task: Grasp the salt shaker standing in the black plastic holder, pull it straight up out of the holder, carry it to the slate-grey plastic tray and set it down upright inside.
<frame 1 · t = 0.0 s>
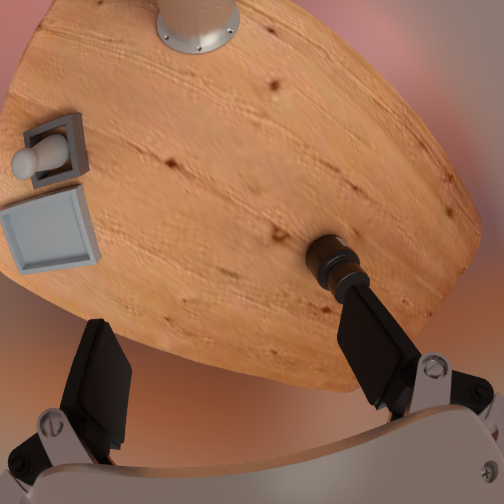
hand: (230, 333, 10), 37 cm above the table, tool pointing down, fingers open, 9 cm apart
tray: (49, 230, 42), on the table
ink bottle: (325, 253, 55), on the table
holder: (60, 149, 36), on the table
salt shaker: (61, 148, 36), resting in holder
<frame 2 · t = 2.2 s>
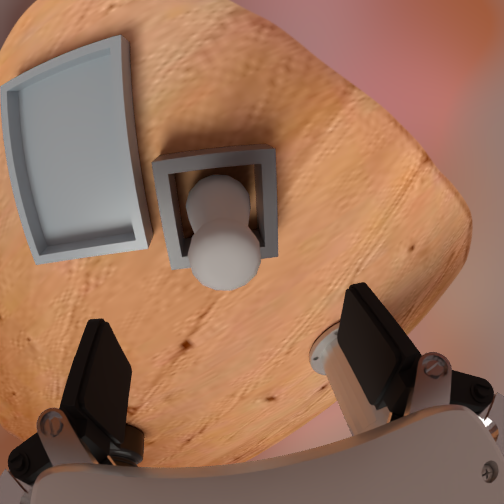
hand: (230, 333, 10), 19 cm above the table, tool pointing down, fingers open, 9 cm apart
tray: (73, 154, 22), on the table
ink bottle: (124, 430, 46), on the table
holder: (217, 198, 27), on the table
salt shaker: (217, 197, 27), resting in holder
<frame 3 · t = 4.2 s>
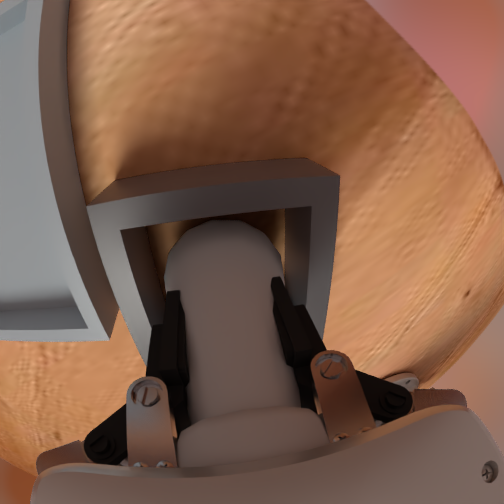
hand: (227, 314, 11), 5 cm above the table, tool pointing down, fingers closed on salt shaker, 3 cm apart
holder: (219, 253, 16), on the table
salt shaker: (219, 251, 16), resting in holder, touching gripper
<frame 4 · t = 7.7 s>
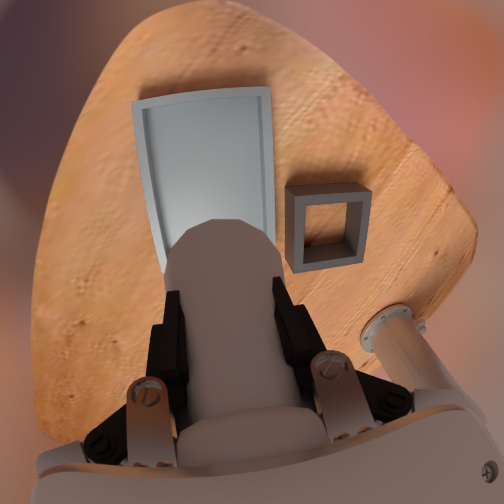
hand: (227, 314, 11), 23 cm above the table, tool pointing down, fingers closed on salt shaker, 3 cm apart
tray: (208, 177, 31), on the table
holder: (321, 220, 36), on the table
salt shaker: (220, 251, 16), point 18 cm above the table, touching gripper
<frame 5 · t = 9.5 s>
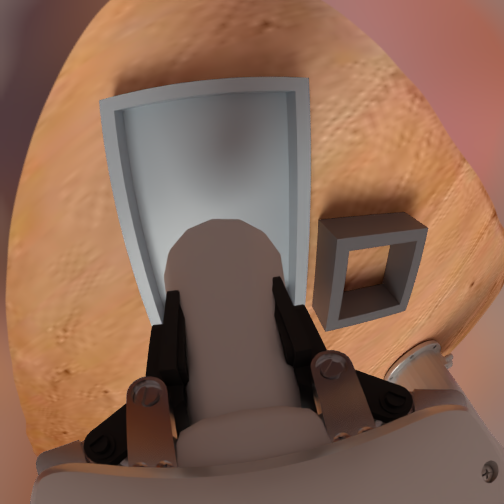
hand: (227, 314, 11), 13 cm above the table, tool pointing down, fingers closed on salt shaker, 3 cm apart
tray: (214, 208, 22), on the table
holder: (359, 260, 27), on the table
salt shaker: (219, 251, 16), point 7 cm above the table, touching gripper
when the fingers open (7 cm above the table, at t = 11.2 s): salt shaker drops 1 cm, resting on tray.
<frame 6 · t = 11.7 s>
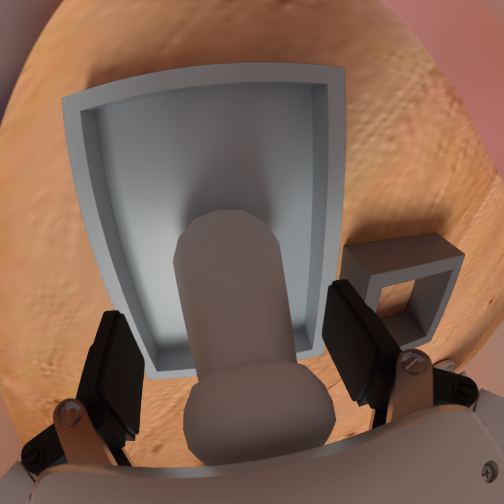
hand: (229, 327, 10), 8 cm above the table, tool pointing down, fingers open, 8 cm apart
tray: (216, 235, 18), on the table
holder: (385, 288, 23), on the table
salt shaker: (223, 240, 17), point 1 cm above the table, touching tray
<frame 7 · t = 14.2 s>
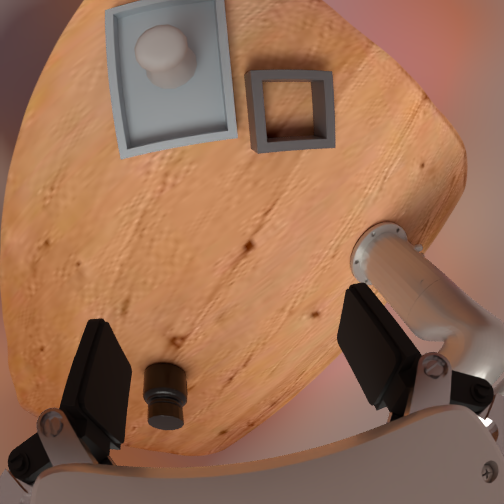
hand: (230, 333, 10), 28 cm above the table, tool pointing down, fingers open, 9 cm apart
tray: (169, 69, 27), on the table
ink bottle: (165, 373, 52), on the table
holder: (285, 109, 32), on the table
salt shaker: (172, 68, 27), point 1 cm above the table, touching tray
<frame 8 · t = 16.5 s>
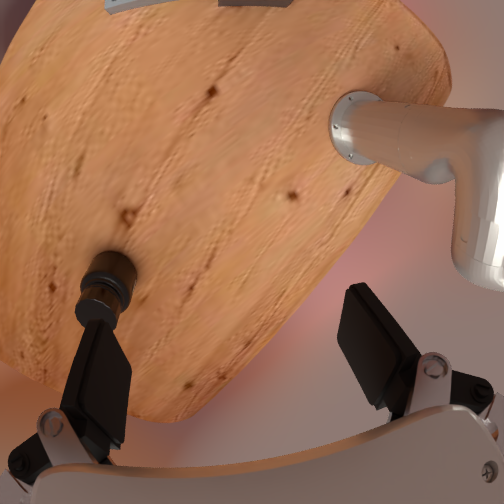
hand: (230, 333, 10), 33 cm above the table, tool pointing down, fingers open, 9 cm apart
ink bottle: (114, 272, 45), on the table
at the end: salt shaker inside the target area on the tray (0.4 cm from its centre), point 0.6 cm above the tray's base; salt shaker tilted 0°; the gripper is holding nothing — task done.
